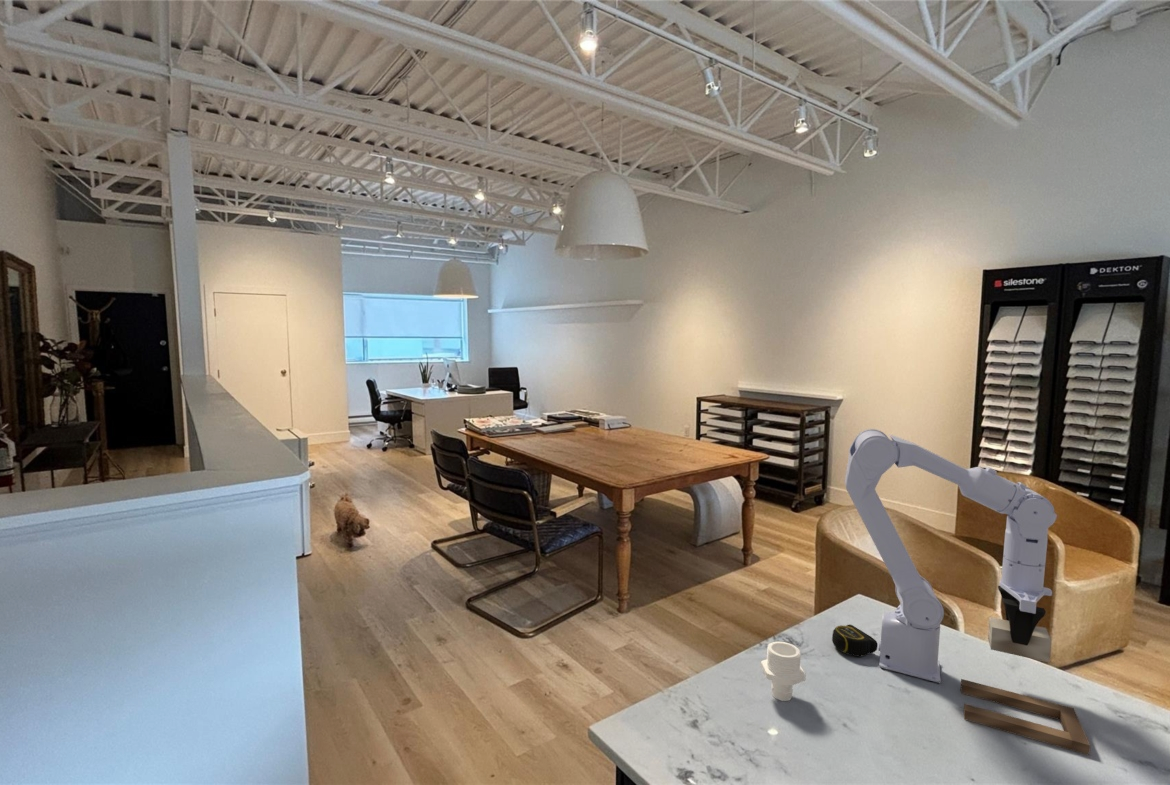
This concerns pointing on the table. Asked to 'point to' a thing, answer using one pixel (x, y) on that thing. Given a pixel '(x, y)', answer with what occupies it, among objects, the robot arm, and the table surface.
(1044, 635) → the beige rectangular block
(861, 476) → the robot arm
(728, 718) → the table surface
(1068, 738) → the brown frame section
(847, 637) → the tape measure
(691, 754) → the table surface
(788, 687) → the pipe fitting
